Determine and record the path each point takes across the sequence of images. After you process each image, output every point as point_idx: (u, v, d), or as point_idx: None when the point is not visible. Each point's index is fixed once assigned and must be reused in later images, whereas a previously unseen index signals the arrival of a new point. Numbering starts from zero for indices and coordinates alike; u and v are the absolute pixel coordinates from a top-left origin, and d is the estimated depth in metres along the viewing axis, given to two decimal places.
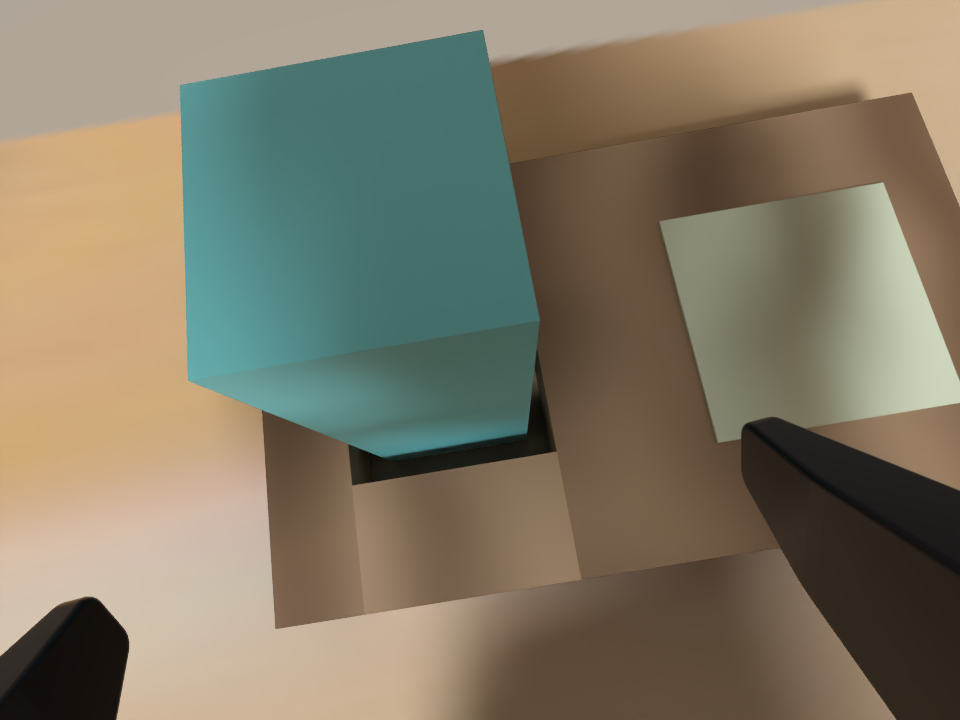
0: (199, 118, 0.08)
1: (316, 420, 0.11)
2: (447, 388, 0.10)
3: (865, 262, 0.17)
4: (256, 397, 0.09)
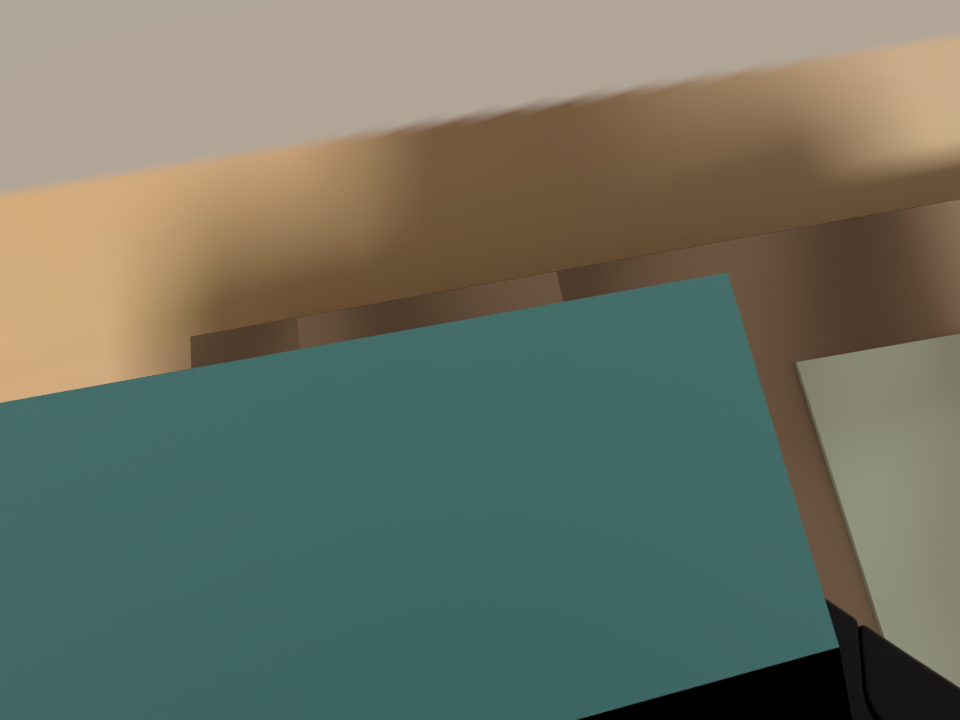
0: None
1: None
2: None
3: None
4: None
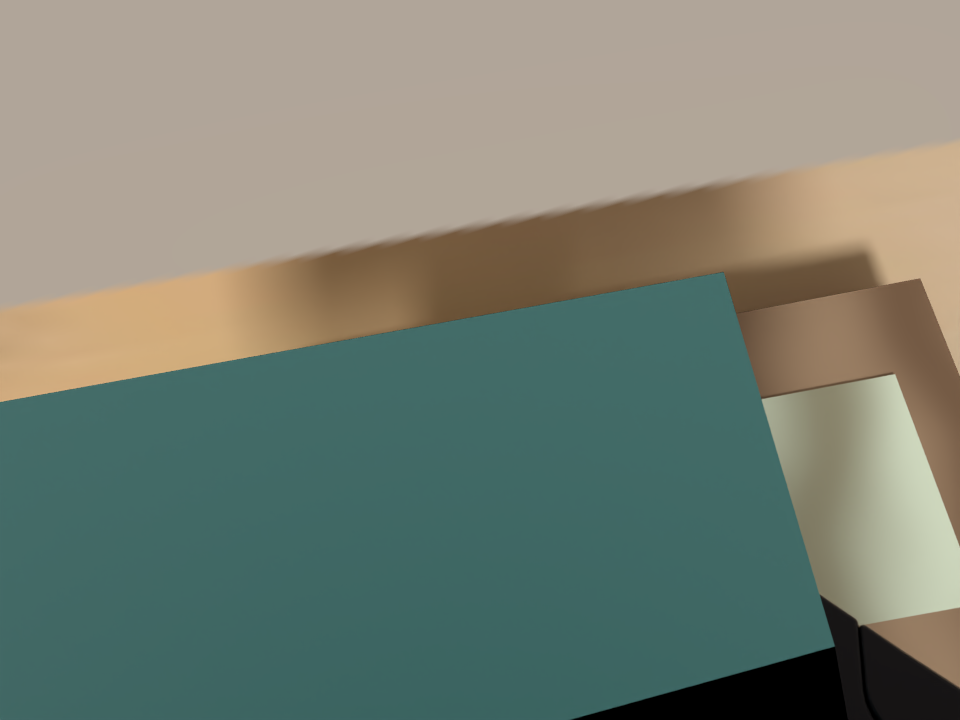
0: None
1: None
2: None
3: (880, 458, 0.18)
4: None
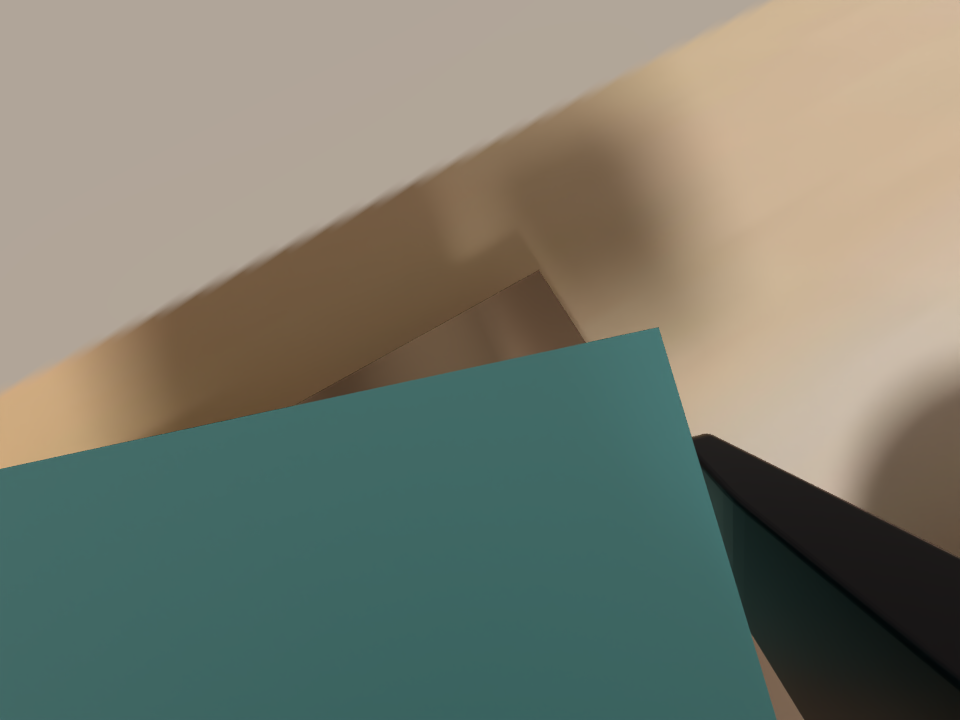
0: None
1: None
2: None
3: None
4: None
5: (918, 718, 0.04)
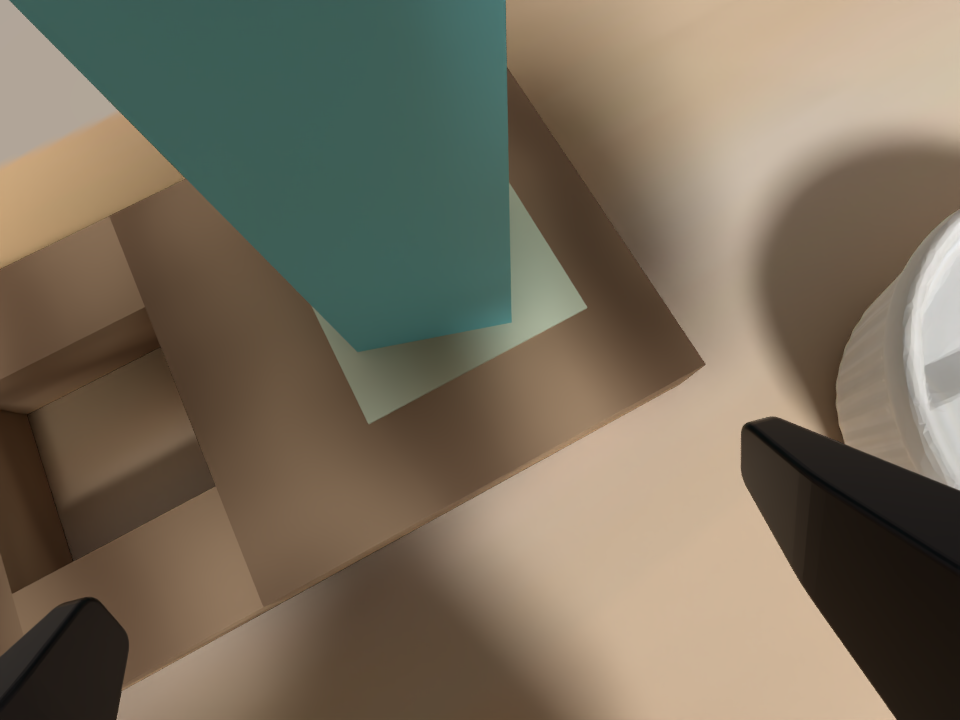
0: None
1: (219, 180, 0.08)
2: (388, 104, 0.07)
3: None
4: (94, 53, 0.06)
5: None
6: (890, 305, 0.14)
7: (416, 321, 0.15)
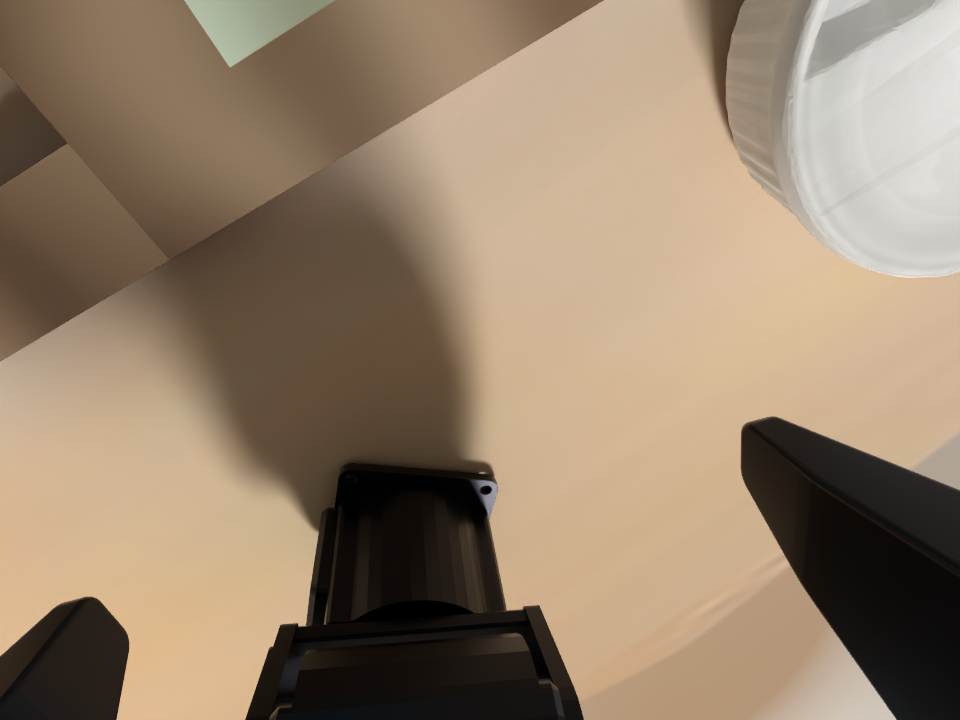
0: None
1: None
2: None
3: None
4: None
5: None
6: None
7: None
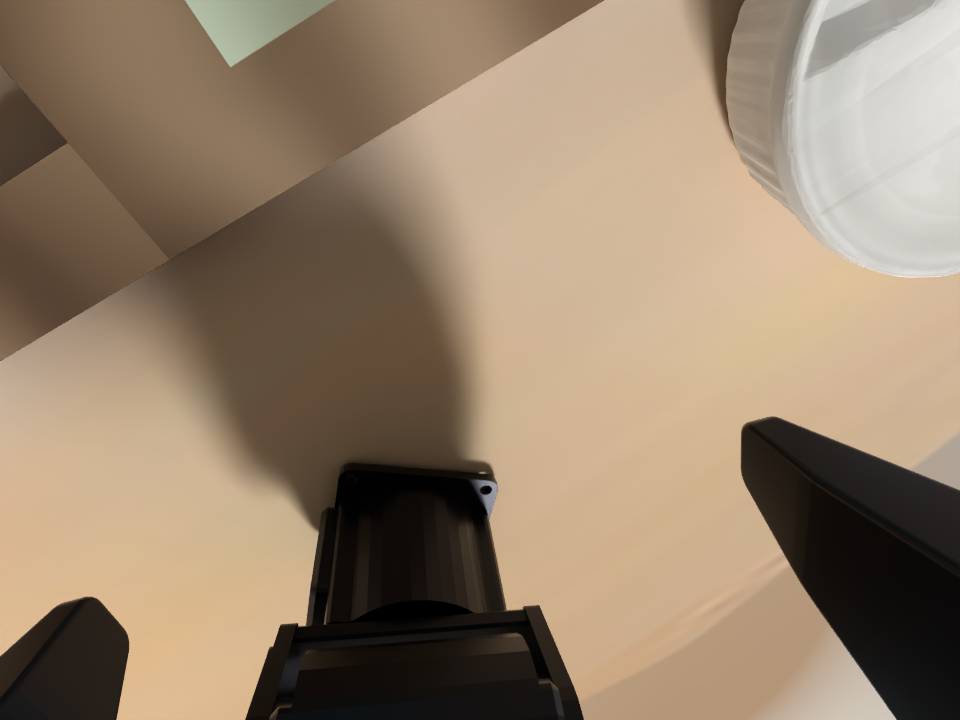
0: None
1: None
2: None
3: None
4: None
5: None
6: None
7: None
